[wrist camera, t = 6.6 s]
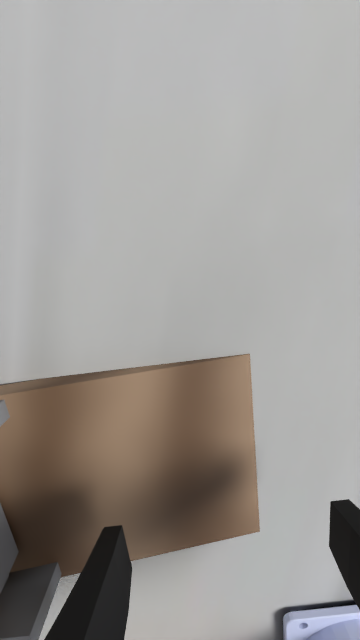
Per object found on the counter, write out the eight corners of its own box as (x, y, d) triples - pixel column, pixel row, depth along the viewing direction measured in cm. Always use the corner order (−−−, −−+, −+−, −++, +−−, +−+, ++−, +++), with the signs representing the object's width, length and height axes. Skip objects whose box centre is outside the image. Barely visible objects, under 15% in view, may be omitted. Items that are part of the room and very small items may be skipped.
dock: (243, 346, 12) (287, 405, 7) (254, 512, 14) (291, 636, 10) (-157, 394, 12) (-363, 481, 7) (-79, 550, 15) (-197, 688, 10)
